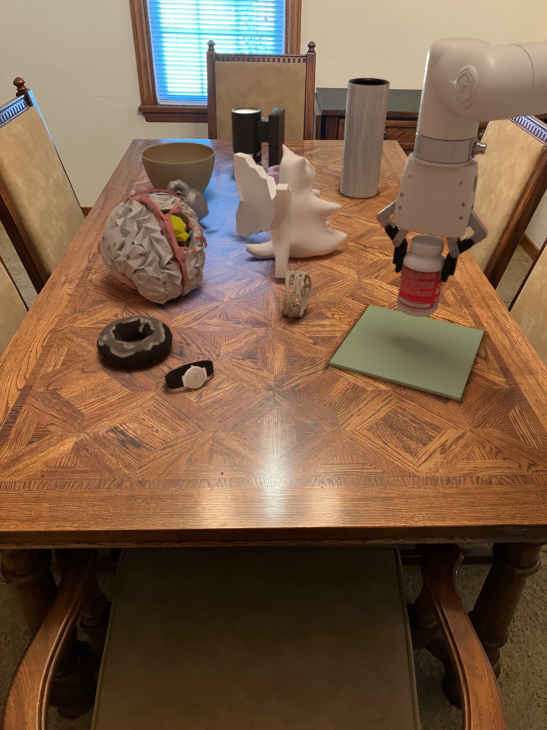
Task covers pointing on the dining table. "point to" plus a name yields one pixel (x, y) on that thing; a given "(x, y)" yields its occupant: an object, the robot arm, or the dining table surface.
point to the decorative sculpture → (154, 245)
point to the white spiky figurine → (284, 210)
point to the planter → (363, 136)
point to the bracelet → (296, 292)
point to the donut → (134, 341)
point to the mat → (410, 351)
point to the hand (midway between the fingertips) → (422, 272)
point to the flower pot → (179, 164)
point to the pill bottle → (421, 276)
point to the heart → (190, 198)
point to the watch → (189, 375)
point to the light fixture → (258, 133)
